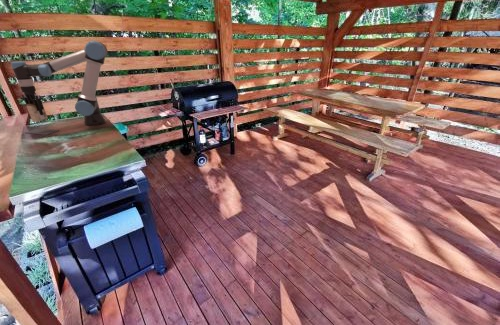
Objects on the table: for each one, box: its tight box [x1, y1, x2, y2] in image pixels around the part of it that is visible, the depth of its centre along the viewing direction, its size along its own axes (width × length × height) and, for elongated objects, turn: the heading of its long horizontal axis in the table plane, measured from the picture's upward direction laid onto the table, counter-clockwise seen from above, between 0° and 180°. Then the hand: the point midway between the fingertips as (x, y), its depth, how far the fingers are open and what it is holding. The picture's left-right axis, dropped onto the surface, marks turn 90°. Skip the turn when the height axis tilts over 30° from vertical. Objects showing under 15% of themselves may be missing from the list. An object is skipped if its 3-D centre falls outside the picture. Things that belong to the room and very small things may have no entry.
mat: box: [24, 128, 60, 136], centre depth 177 cm, size 10×20×1 cm, turn 78°
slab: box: [25, 103, 49, 123], centre depth 170 cm, size 8×4×12 cm, turn 167°
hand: (40, 119), depth 172 cm, fingers closed on slab, 4 cm apart
